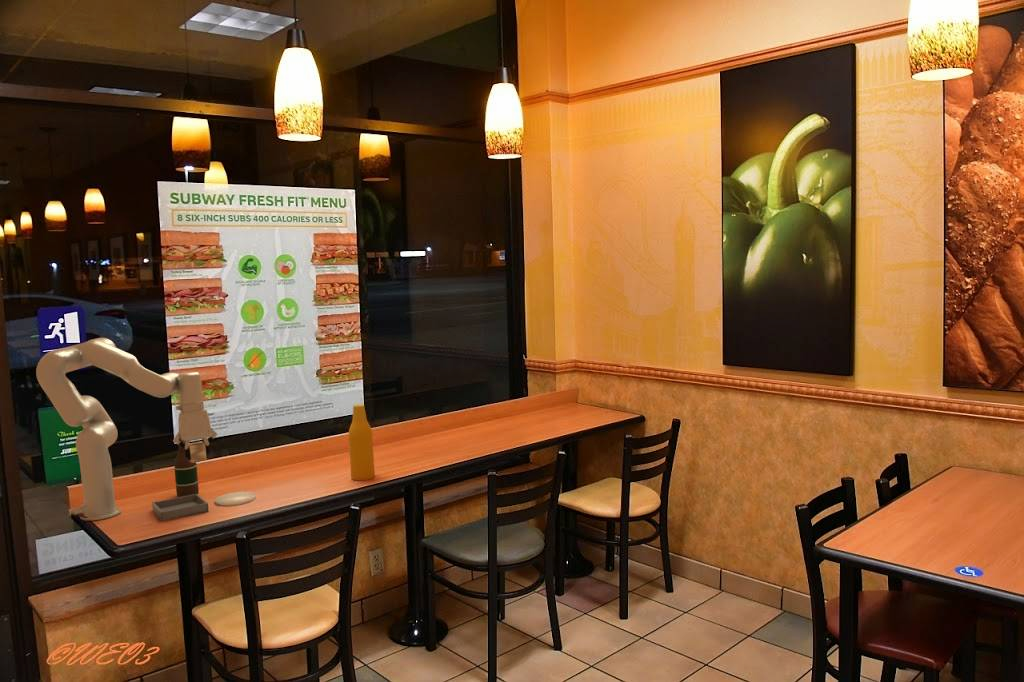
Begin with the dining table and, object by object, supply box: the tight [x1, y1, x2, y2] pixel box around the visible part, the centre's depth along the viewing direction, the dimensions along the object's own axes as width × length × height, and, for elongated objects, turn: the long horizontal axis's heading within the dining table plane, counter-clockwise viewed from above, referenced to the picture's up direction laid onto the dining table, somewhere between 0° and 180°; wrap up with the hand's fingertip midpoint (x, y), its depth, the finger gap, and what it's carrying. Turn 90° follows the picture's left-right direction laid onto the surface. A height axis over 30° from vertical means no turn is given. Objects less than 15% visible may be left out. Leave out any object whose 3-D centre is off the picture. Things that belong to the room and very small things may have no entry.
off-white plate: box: [214, 491, 257, 507], centre depth 281 cm, size 14×14×1 cm
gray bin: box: [151, 493, 209, 522], centre depth 270 cm, size 15×15×3 cm
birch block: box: [189, 440, 208, 463], centre depth 272 cm, size 5×5×6 cm
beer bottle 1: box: [173, 438, 200, 498], centre depth 290 cm, size 8×8×24 cm
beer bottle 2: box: [348, 404, 376, 482], centre depth 304 cm, size 9×9×29 cm
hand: (197, 457), depth 273 cm, fingers closed on birch block, 5 cm apart
